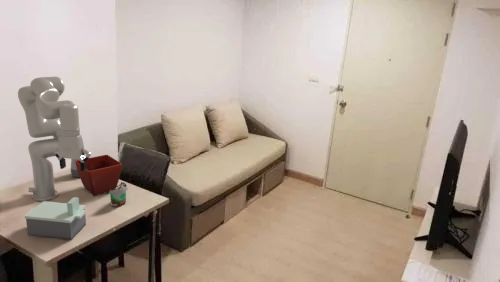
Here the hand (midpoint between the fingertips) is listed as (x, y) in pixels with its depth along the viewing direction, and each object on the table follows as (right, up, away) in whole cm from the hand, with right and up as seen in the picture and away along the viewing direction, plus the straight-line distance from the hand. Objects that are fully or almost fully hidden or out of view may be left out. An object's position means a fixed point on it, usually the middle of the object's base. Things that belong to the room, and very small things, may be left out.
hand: (73, 169), depth 177 cm
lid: (-8, -21, +4) cm, 23 cm away
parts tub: (-10, -29, +6) cm, 31 cm away
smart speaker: (-26, -9, +65) cm, 71 cm away
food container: (+10, -21, +35) cm, 42 cm away
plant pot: (-7, -15, +49) cm, 52 cm away
